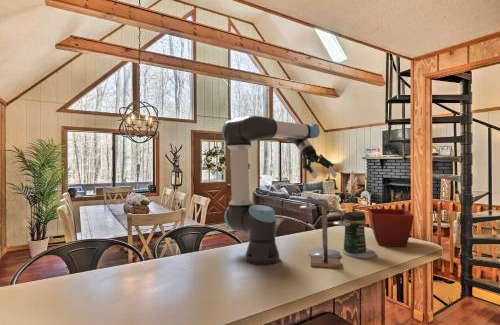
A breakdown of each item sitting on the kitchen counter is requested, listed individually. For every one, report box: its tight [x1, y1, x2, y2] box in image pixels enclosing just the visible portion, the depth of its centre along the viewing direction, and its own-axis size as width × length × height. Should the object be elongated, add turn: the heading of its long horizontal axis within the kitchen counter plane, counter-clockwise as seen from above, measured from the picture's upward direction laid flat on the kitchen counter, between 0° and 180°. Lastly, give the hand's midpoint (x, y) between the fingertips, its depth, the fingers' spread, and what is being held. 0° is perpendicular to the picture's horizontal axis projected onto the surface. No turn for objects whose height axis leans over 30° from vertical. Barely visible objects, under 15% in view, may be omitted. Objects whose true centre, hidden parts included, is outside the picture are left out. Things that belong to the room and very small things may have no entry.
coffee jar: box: [343, 210, 367, 253], centre depth 132 cm, size 10×8×19 cm
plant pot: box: [367, 208, 414, 247], centre depth 150 cm, size 19×19×17 cm
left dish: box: [308, 247, 341, 259], centre depth 130 cm, size 14×14×1 cm
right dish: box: [342, 247, 376, 259], centre depth 132 cm, size 14×14×1 cm
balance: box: [299, 195, 351, 269], centre depth 118 cm, size 21×7×29 cm, turn 78°
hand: (326, 176), depth 149 cm, fingers open, 13 cm apart
